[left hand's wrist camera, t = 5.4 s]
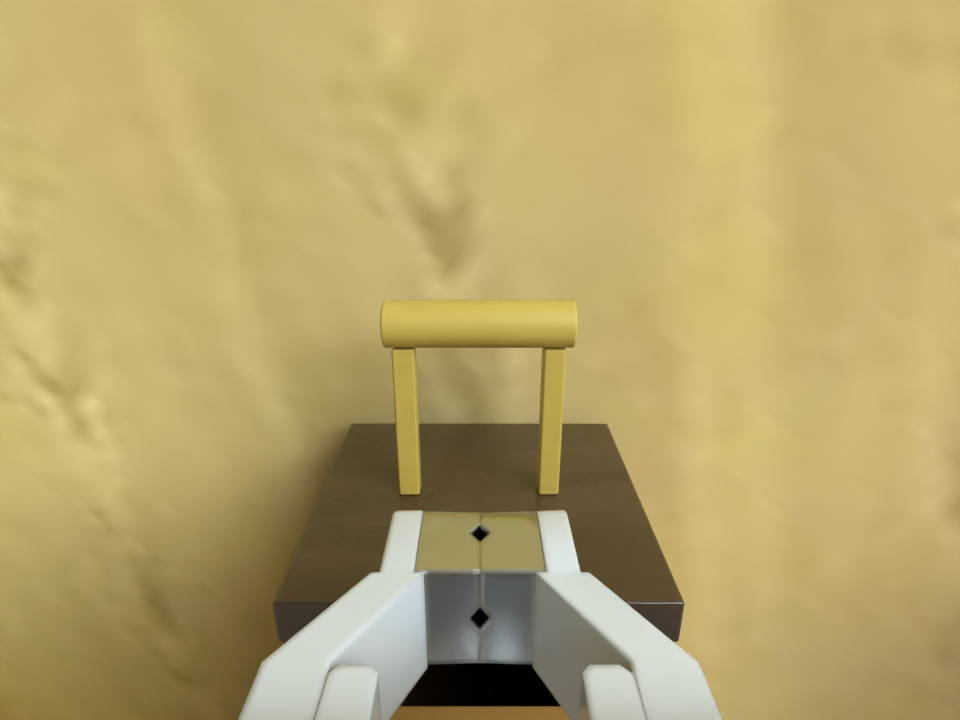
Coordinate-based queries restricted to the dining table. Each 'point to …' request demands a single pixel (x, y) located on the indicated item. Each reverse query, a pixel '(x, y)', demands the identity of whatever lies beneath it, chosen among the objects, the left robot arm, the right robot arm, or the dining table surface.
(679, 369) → the dining table surface
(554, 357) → the drawer
